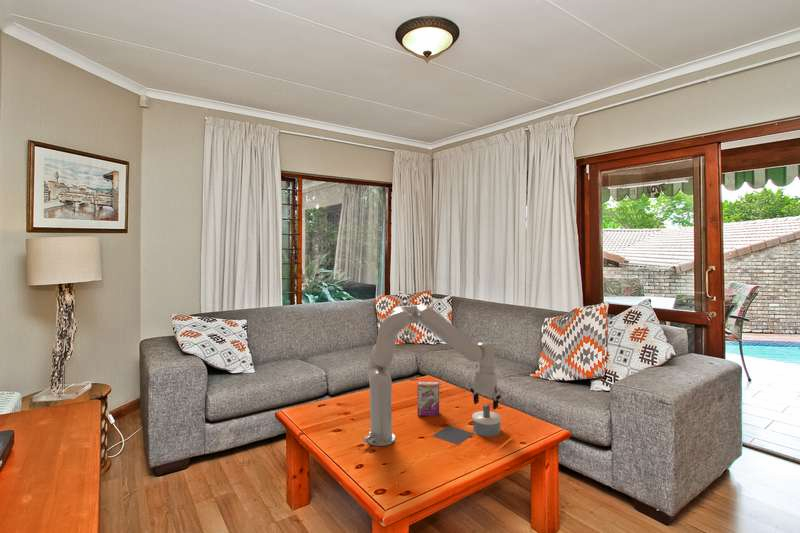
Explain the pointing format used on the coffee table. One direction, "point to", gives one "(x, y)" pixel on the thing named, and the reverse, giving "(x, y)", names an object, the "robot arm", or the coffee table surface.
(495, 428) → the pot
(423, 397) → the candy bar box
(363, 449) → the coffee table surface
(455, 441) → the mat
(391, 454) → the coffee table surface
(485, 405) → the lid
